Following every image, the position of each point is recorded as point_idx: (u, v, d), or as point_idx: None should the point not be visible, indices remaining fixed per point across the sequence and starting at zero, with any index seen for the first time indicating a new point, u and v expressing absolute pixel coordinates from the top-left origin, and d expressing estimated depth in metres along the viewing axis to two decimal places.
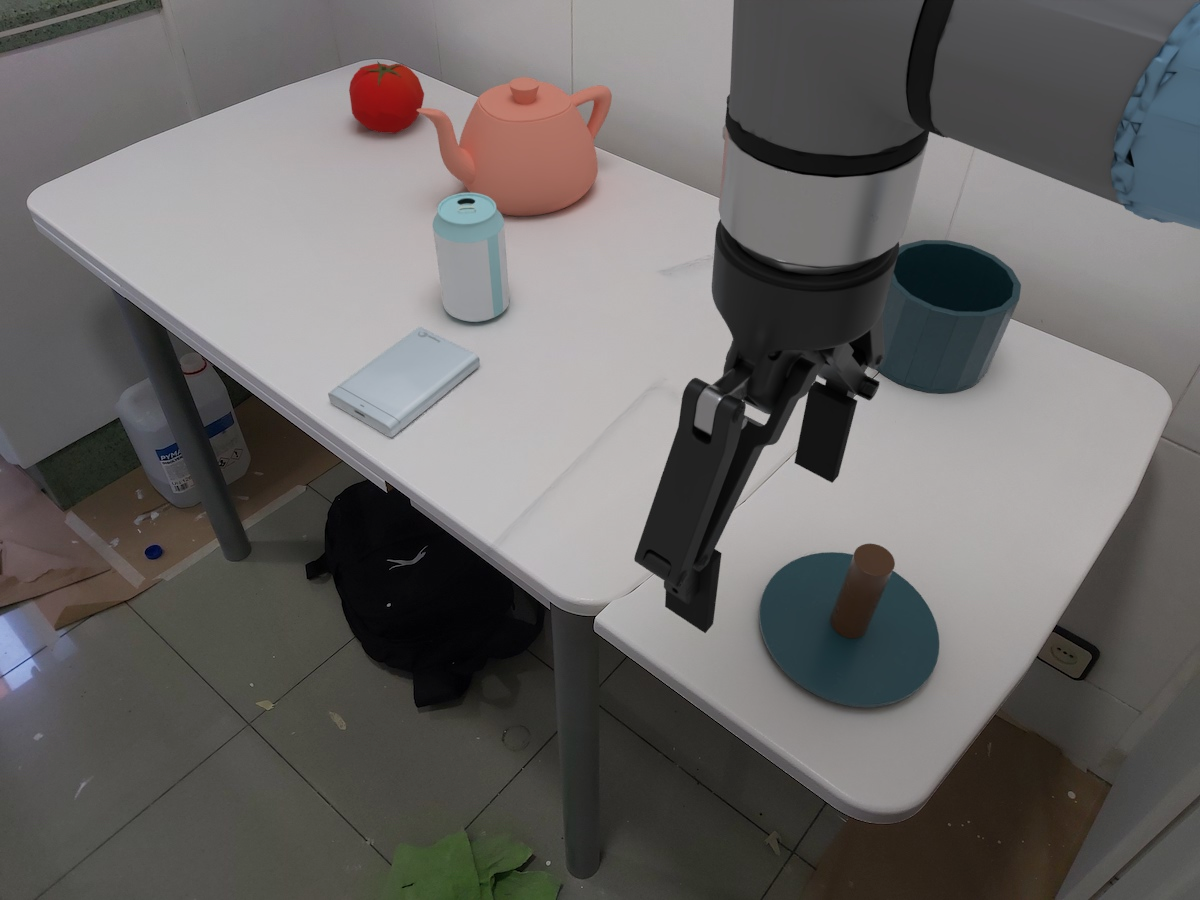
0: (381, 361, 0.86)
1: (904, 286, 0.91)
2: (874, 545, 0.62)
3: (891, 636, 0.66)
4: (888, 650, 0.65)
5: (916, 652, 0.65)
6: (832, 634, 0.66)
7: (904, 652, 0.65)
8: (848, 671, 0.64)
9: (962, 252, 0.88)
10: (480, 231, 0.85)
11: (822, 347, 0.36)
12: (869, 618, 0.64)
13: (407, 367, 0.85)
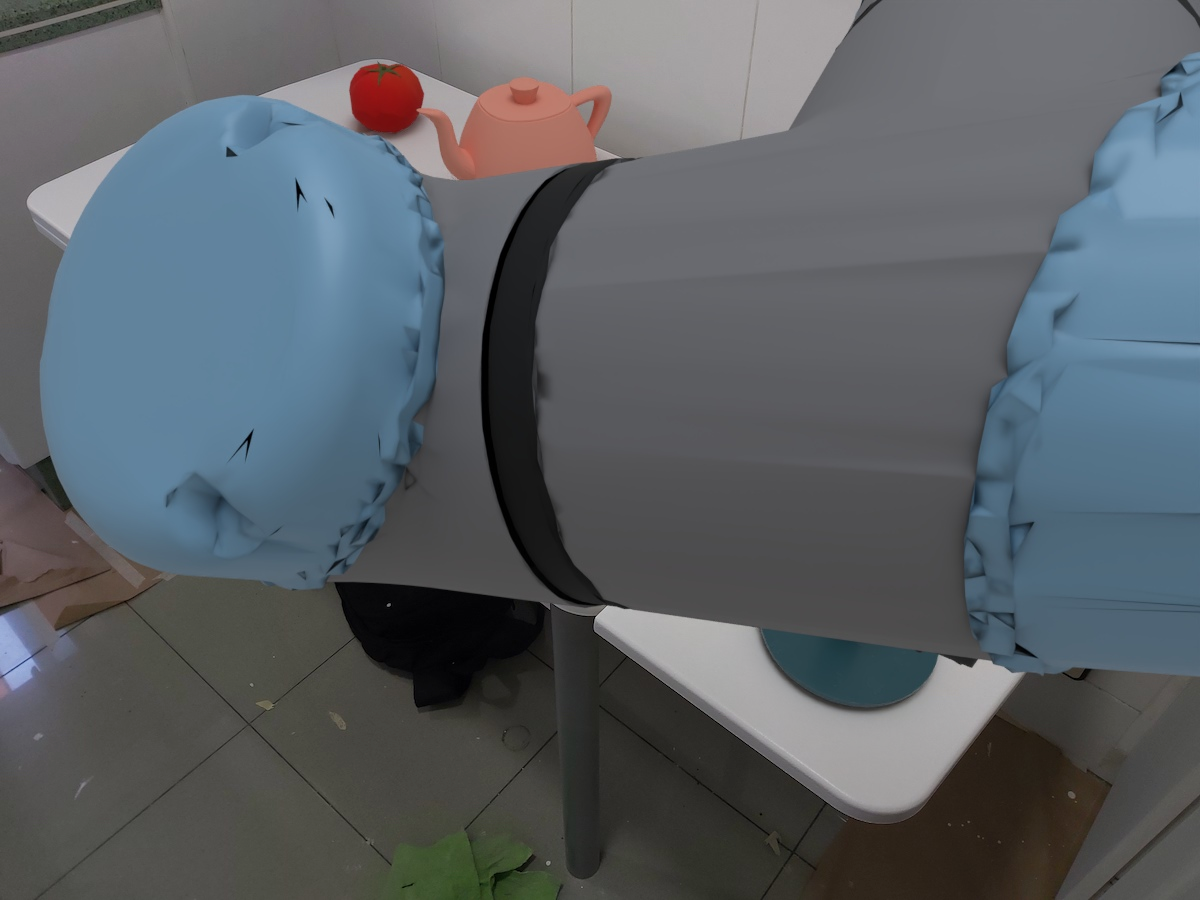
0: None
1: None
2: None
3: None
4: (888, 650, 0.65)
5: (916, 652, 0.65)
6: None
7: (904, 652, 0.65)
8: (848, 671, 0.64)
9: None
10: None
11: None
12: None
13: None
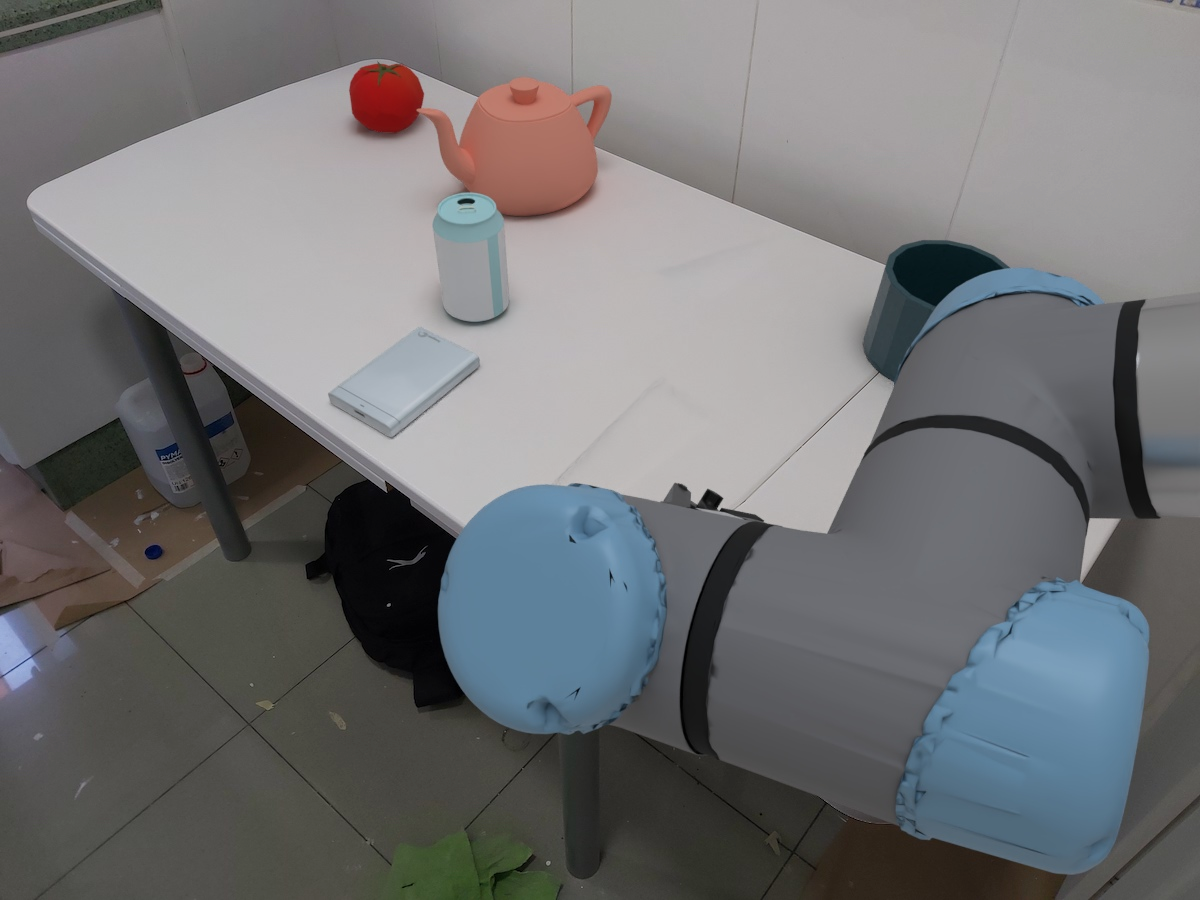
0: (381, 361, 0.86)
1: (904, 286, 0.91)
2: None
3: None
4: None
5: None
6: None
7: None
8: None
9: (962, 252, 0.88)
10: (480, 231, 0.85)
11: None
12: None
13: (407, 367, 0.85)
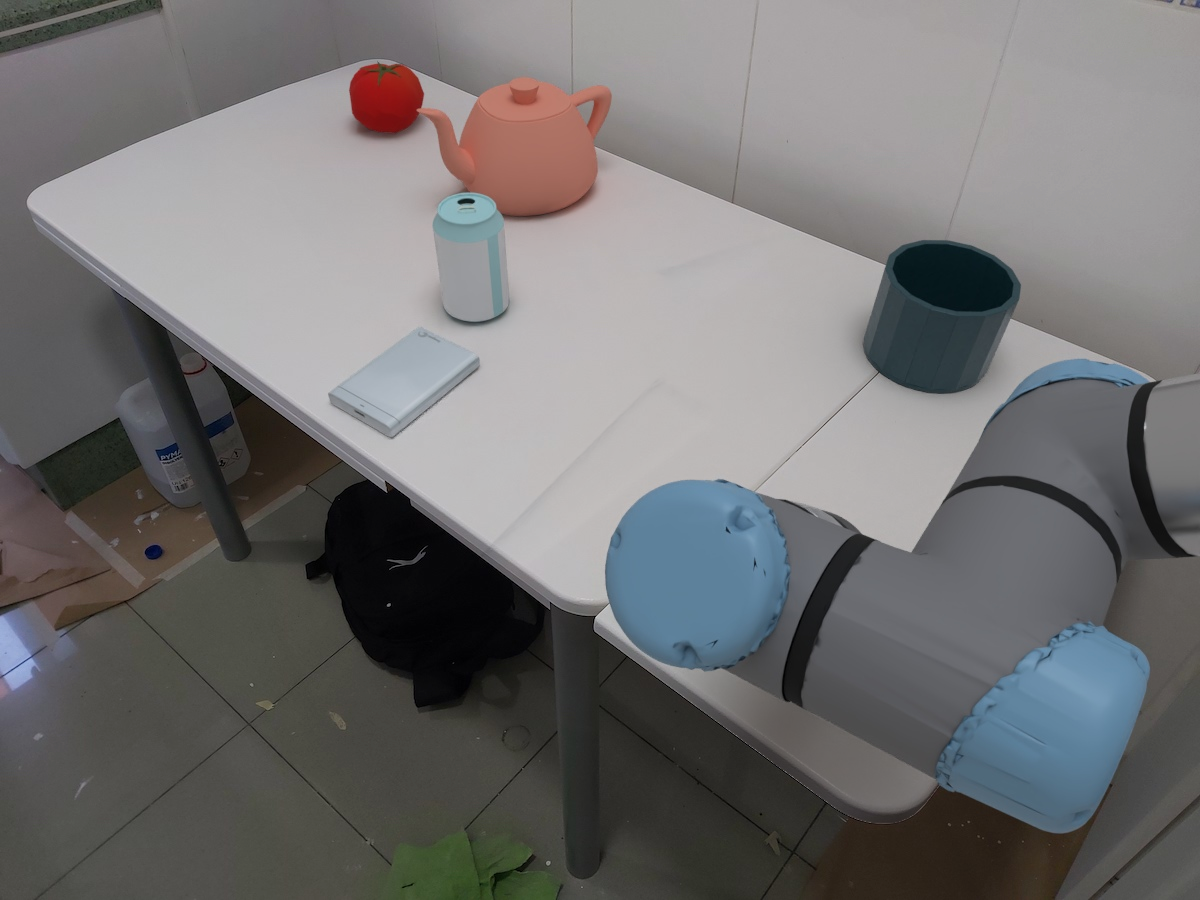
0: (381, 361, 0.86)
1: (904, 286, 0.91)
2: None
3: None
4: None
5: None
6: None
7: None
8: None
9: (962, 252, 0.88)
10: (480, 231, 0.85)
11: None
12: None
13: (407, 367, 0.85)
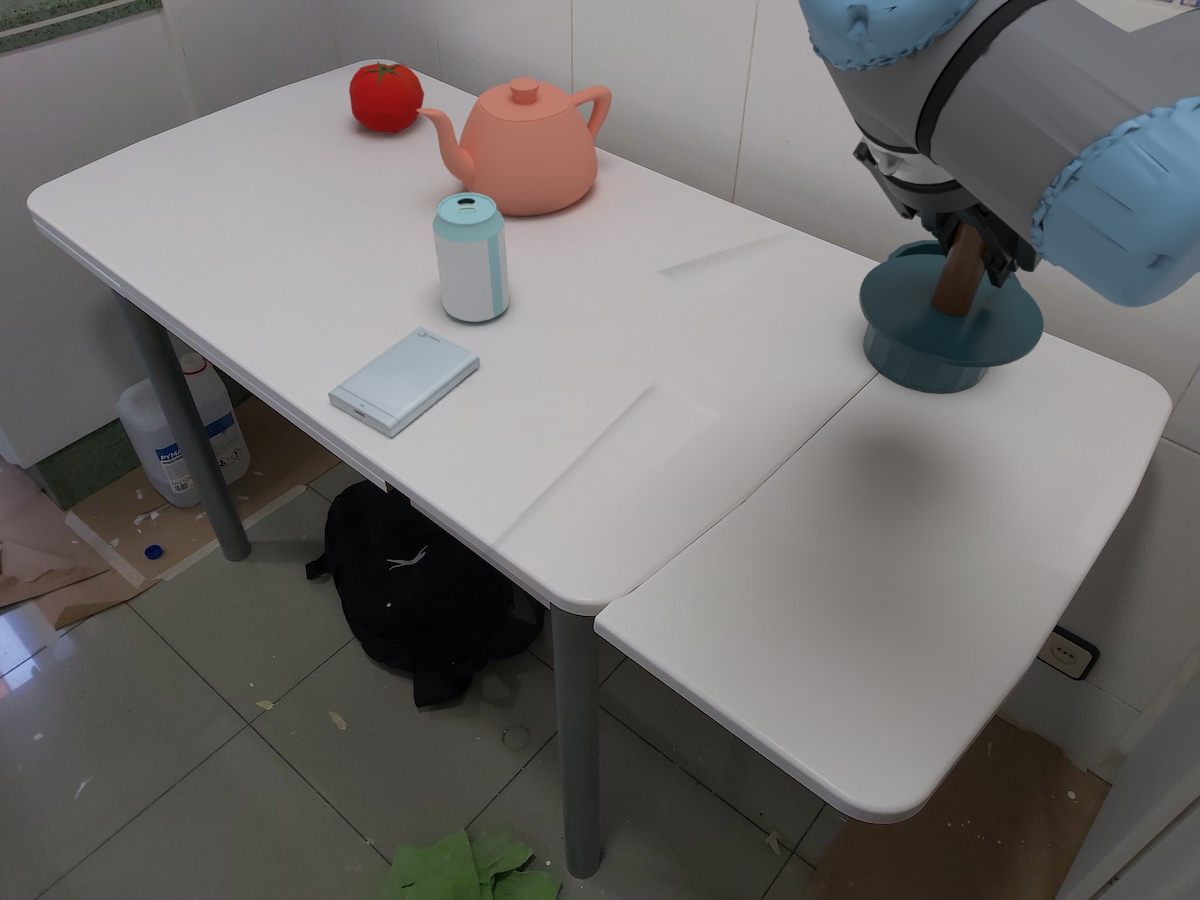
0: (381, 361, 0.86)
1: None
2: None
3: (994, 314, 0.66)
4: (993, 324, 0.65)
5: (1021, 325, 0.65)
6: (935, 313, 0.66)
7: (1009, 326, 0.65)
8: (955, 338, 0.63)
9: None
10: (480, 231, 0.85)
11: None
12: (975, 287, 0.64)
13: (407, 367, 0.85)
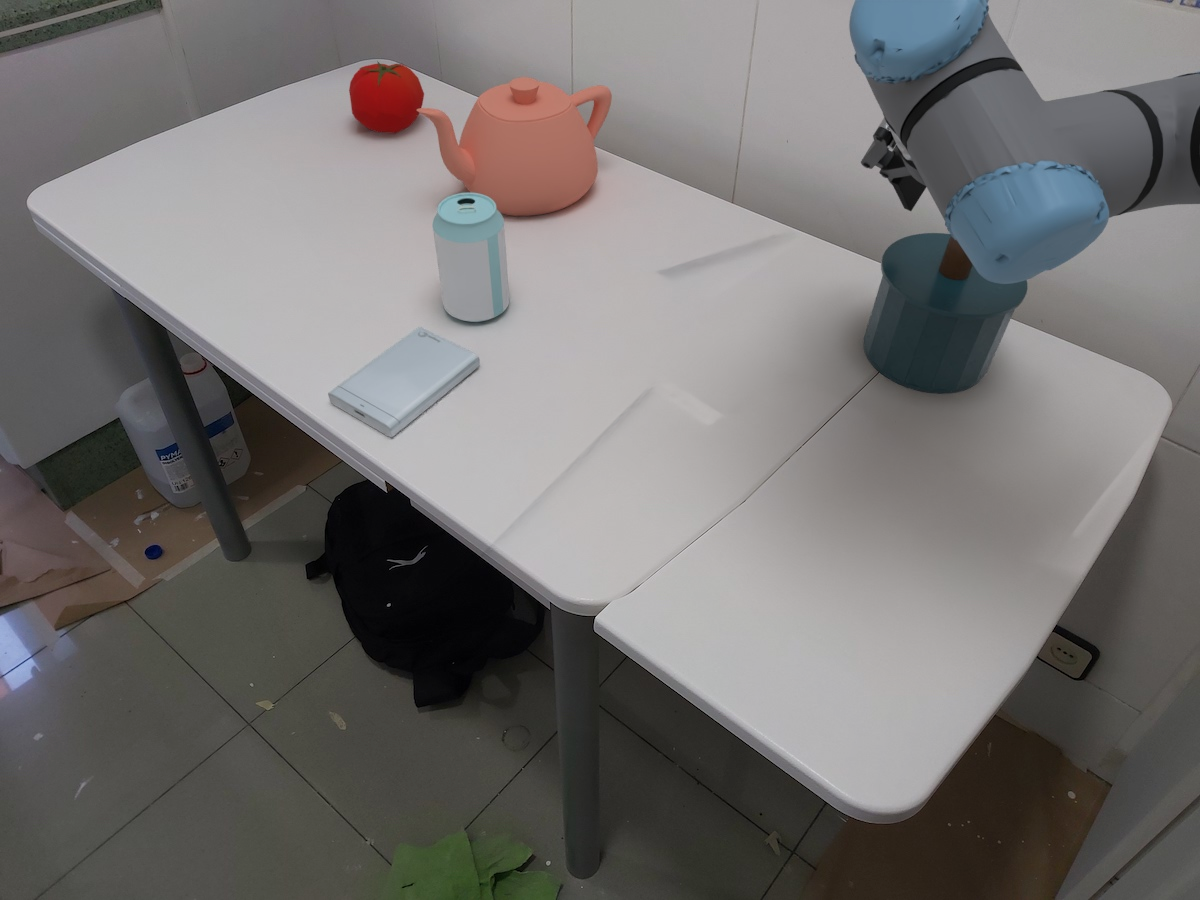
0: (381, 361, 0.86)
1: None
2: None
3: None
4: (987, 286, 0.82)
5: (1009, 287, 0.82)
6: (941, 278, 0.83)
7: (1000, 288, 0.82)
8: (957, 297, 0.81)
9: None
10: (480, 231, 0.85)
11: None
12: None
13: (407, 367, 0.85)
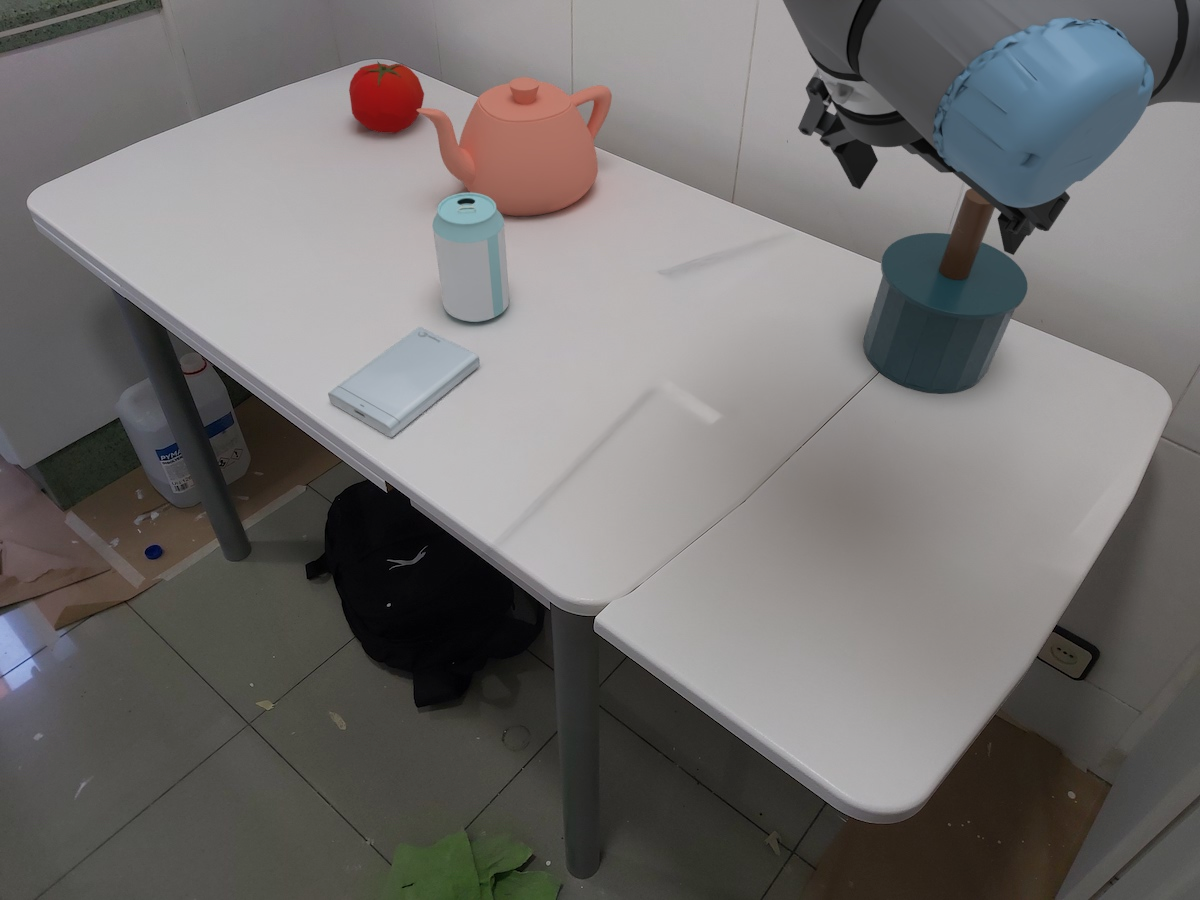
0: (381, 361, 0.86)
1: None
2: None
3: (988, 279, 0.83)
4: (987, 286, 0.82)
5: (1009, 287, 0.82)
6: (941, 278, 0.83)
7: (1000, 288, 0.82)
8: (957, 297, 0.81)
9: None
10: (480, 231, 0.85)
11: None
12: (973, 257, 0.81)
13: (407, 367, 0.85)
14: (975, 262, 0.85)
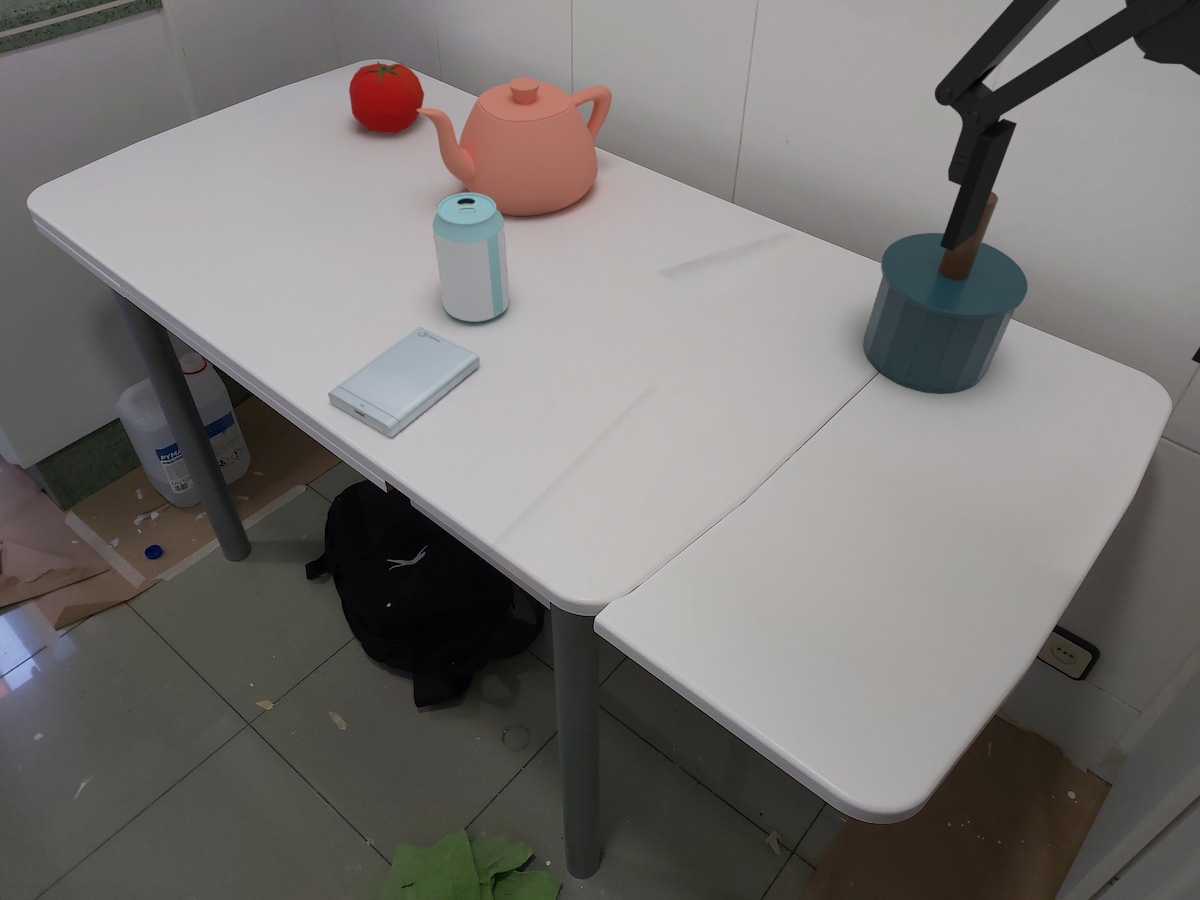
0: (381, 361, 0.86)
1: None
2: None
3: (988, 279, 0.83)
4: (987, 286, 0.82)
5: (1009, 287, 0.82)
6: (941, 278, 0.83)
7: (1000, 288, 0.82)
8: (957, 297, 0.81)
9: None
10: (480, 231, 0.85)
11: None
12: (973, 257, 0.81)
13: (407, 367, 0.85)
14: (975, 262, 0.85)
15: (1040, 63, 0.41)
